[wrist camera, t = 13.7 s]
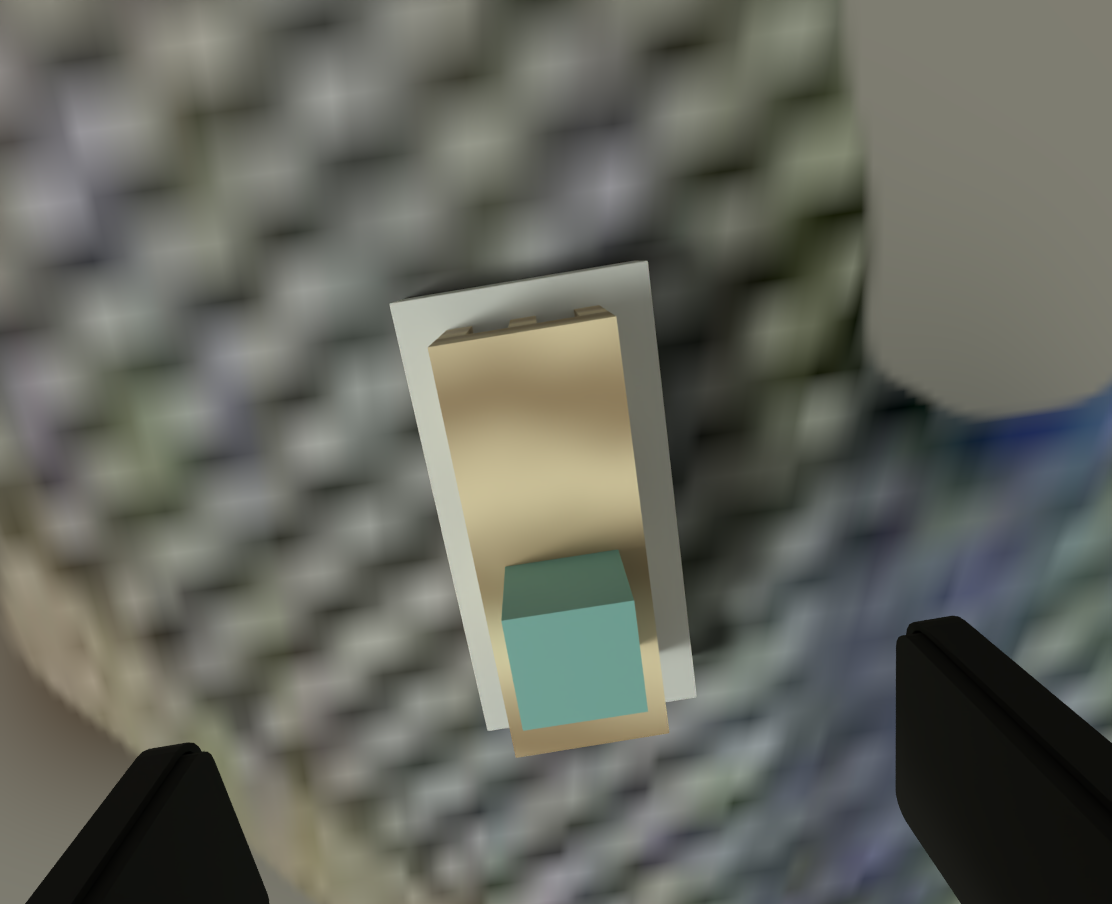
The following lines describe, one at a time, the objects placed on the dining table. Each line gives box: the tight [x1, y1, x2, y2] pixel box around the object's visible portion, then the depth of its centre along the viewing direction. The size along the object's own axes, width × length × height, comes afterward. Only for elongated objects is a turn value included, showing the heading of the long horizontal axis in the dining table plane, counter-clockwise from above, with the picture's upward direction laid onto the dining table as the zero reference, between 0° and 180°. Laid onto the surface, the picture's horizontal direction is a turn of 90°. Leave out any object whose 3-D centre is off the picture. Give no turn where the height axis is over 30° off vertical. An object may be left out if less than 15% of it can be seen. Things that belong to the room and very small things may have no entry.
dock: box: [390, 261, 696, 731], centre depth 29 cm, size 20×10×3 cm, turn 9°
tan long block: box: [428, 305, 669, 758], centre depth 25 cm, size 16×6×5 cm, turn 9°
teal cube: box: [501, 549, 648, 731], centre depth 21 cm, size 4×4×4 cm
